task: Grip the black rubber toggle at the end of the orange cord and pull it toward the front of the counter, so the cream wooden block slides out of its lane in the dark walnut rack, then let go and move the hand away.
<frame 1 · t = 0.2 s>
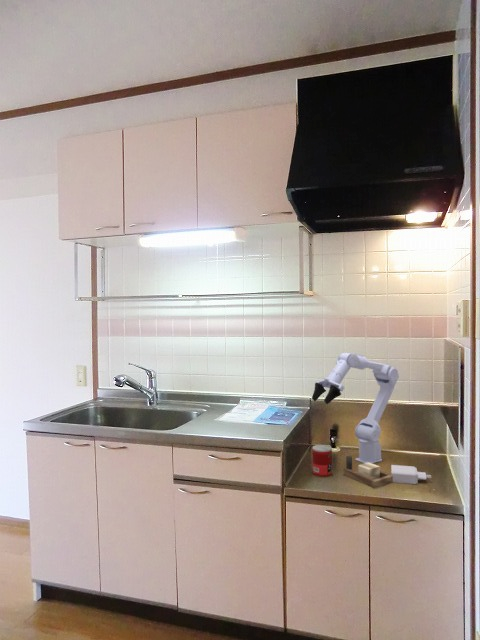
hand: (319, 401, 194), 31 cm above the worktop, tool tilted 45°, fingers open, 7 cm apart
walnut rack: (367, 477, 190), on the worktop
canned food: (322, 473, 196), on the worktop
charger: (411, 481, 187), on the worktop
cream block: (360, 467, 193), point 3 cm above the worktop, slide at 0.0 cm
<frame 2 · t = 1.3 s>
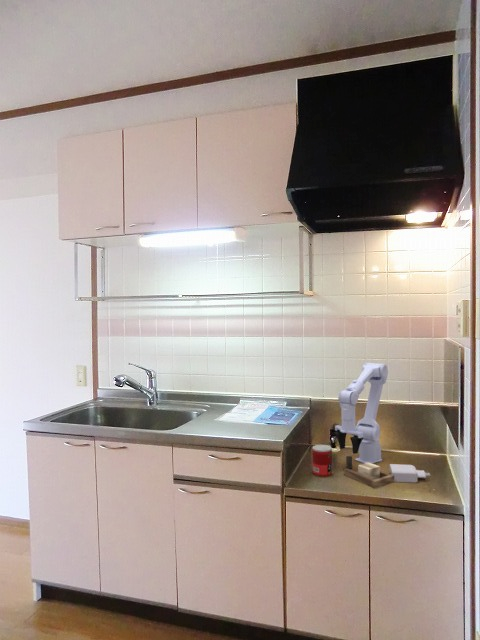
hand: (348, 450, 198), 8 cm above the worktop, tool pointing down, fingers open, 7 cm apart
charger: (410, 479, 188), on the worktop
everything else where it was.
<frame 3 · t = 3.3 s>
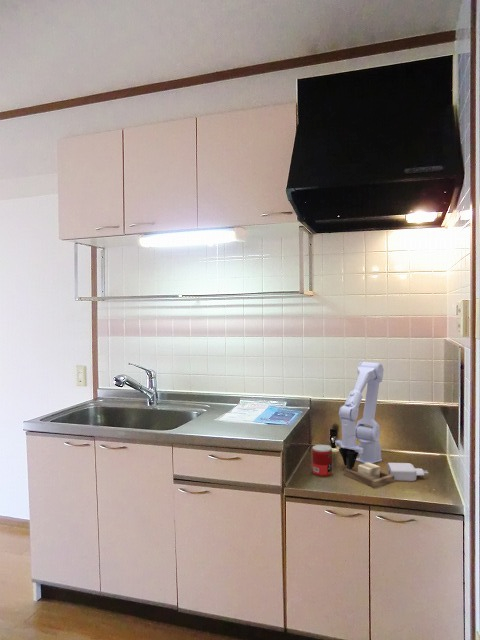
hand: (349, 466, 198), 2 cm above the worktop, tool pointing down, fingers closed on cream block, 2 cm apart
charger: (408, 478, 189), on the worktop
cream block: (360, 467, 193), point 3 cm above the worktop, slide at 0.0 cm, touching gripper
everything else where it was.
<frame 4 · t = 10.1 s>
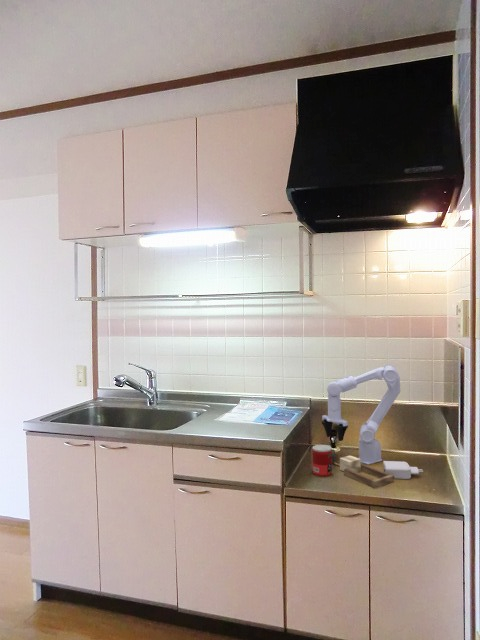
hand: (334, 438, 212), 9 cm above the worktop, tool pointing down, fingers open, 7 cm apart
charger: (403, 476, 191), on the worktop
cream block: (342, 460, 202), point 3 cm above the worktop, slide at 10.5 cm
everything else where it was.
at the end: cream block slide at 10.5 cm; the gripper is holding nothing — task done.
